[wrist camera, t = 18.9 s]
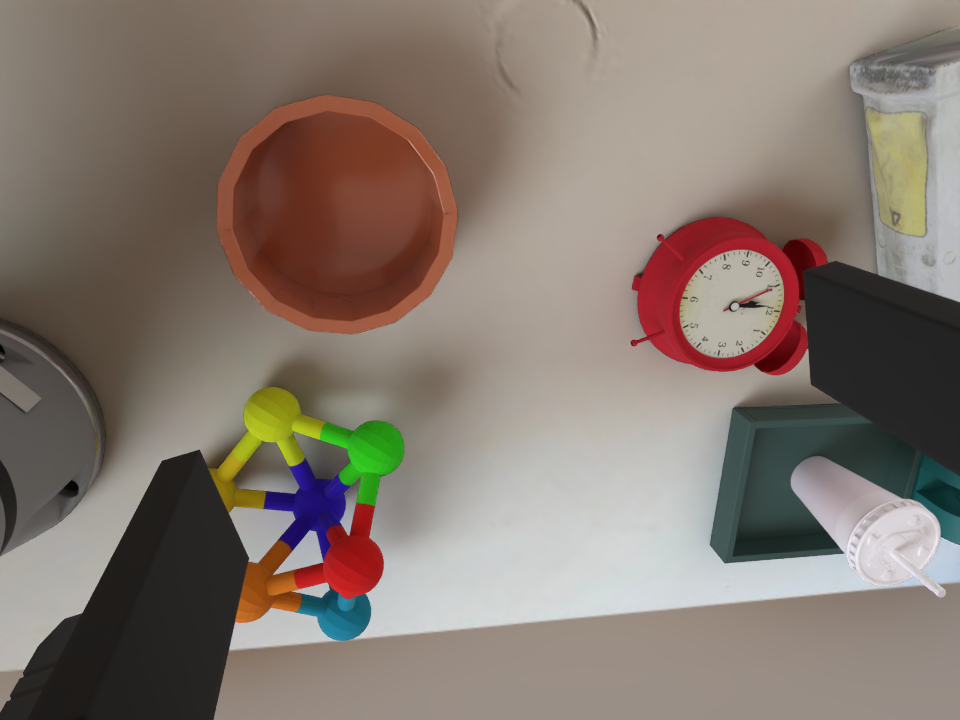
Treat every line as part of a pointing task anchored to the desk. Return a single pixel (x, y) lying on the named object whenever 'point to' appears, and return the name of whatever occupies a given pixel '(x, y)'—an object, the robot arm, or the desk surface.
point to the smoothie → (869, 523)
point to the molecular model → (313, 514)
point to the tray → (769, 466)
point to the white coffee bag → (915, 159)
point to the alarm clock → (726, 297)
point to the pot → (336, 214)
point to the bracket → (939, 496)
